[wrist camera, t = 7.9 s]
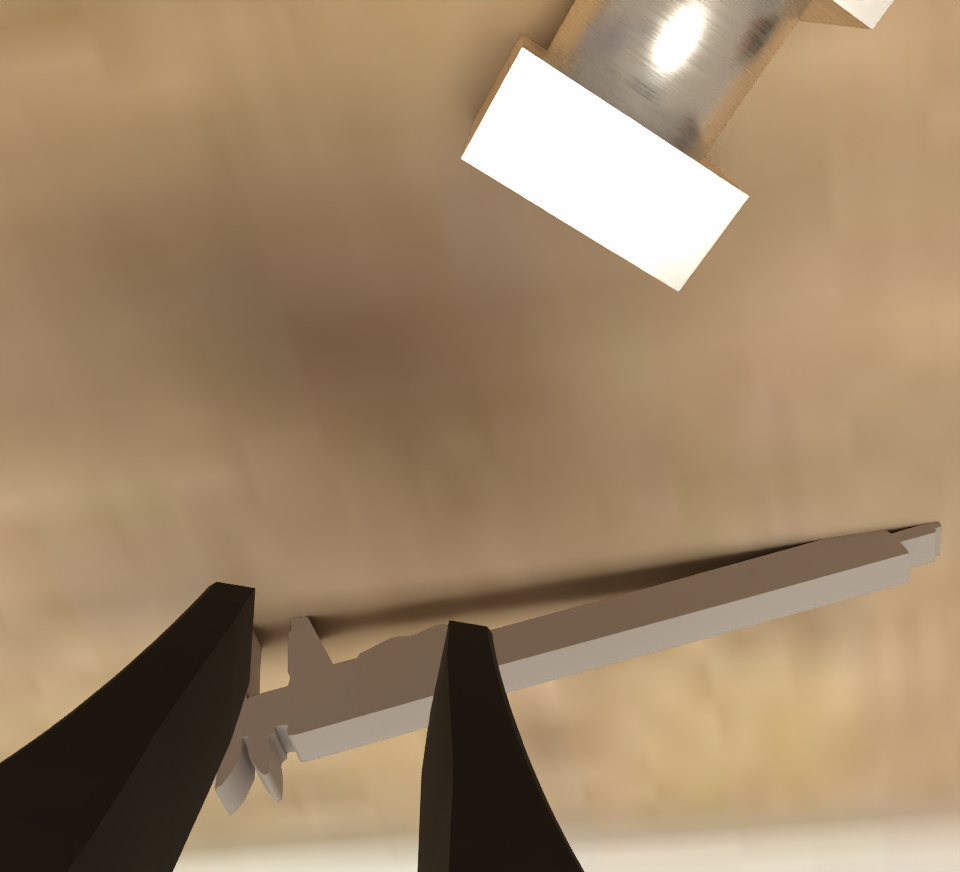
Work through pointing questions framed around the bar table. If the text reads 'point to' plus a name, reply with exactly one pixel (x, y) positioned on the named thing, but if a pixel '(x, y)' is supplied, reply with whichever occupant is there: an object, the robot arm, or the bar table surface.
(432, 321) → the bar table surface
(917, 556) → the caliper
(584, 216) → the coupling
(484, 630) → the robot arm
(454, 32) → the bar table surface
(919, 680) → the bar table surface
